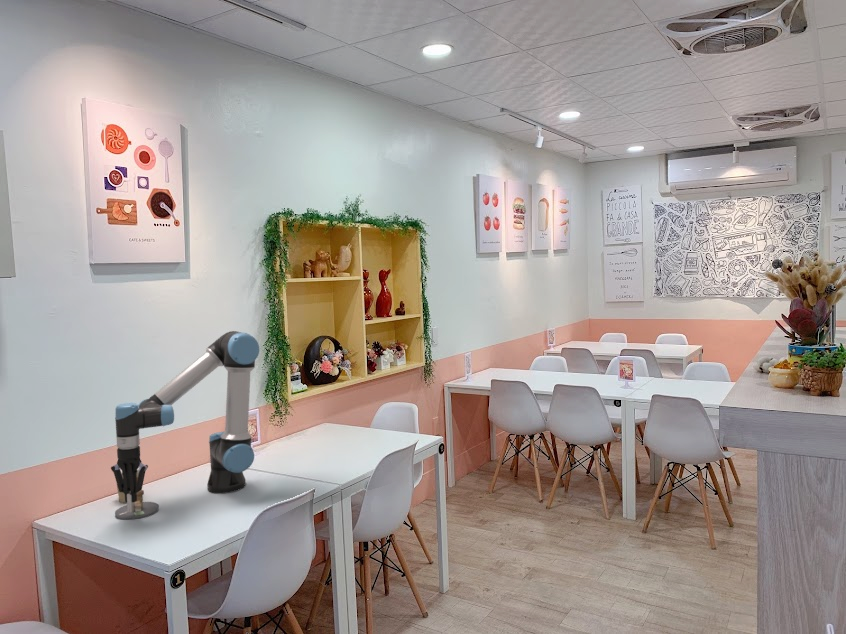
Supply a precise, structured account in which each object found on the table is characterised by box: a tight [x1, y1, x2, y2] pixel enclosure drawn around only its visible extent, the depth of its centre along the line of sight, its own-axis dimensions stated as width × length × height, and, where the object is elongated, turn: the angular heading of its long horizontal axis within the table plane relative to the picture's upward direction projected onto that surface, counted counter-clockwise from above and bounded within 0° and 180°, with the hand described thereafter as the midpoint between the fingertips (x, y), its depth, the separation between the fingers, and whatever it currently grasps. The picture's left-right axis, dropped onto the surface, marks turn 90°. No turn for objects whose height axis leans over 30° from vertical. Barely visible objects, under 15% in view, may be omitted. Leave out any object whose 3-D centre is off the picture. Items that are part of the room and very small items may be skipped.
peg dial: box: [135, 489, 145, 512], centre depth 239 cm, size 12×5×6 cm, turn 27°
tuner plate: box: [114, 501, 160, 521], centre depth 242 cm, size 15×15×1 cm
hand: (131, 510), depth 235 cm, fingers closed
